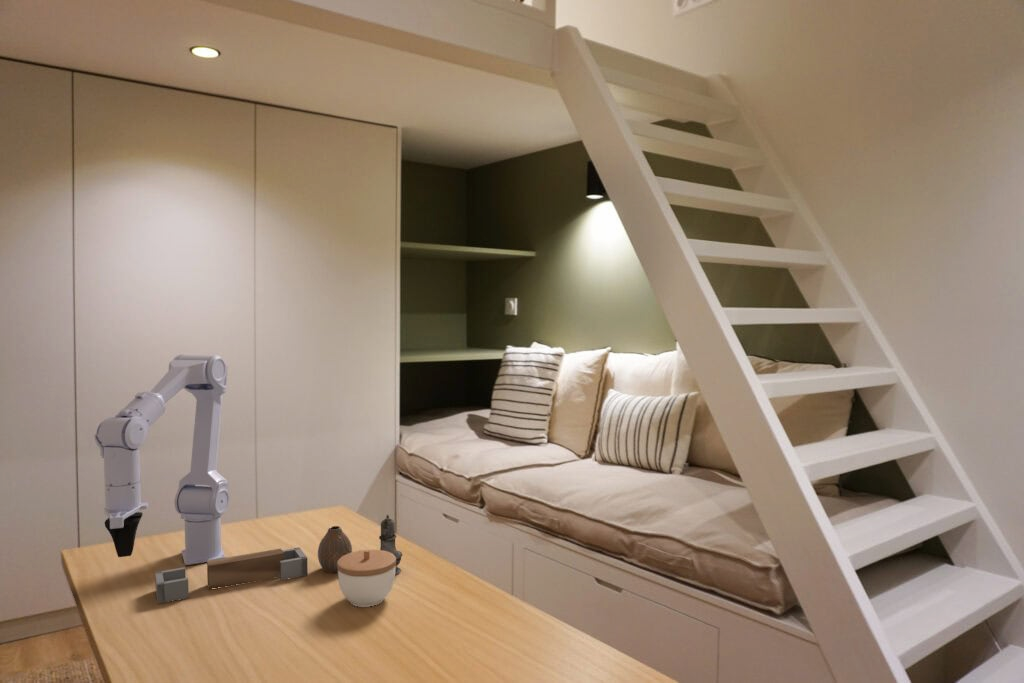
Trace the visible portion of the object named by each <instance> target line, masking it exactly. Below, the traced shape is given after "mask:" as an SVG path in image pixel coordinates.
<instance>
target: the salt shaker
mask: <svg viewBox="0 0 1024 683" xmlns="http://www.w3.org/2000/svg"><path fill="white" fill-rule="evenodd" d="M385 517H386V518H384V519H383V520H381V522H380V535H379V536H378V539H379V540H380V549H379V550H383V551H387V552H390V553H392V554H394V555H395V557H396V565H395V566H396V569H395V575H396V576H399V575H400V574H401V573H402V569H401V568H400V567H398V566H399V564H400V563H401V561H402V557H403V552H402V551H399V550H397V548H396V538H397V537H398V536H397V534H396V532H395V531H396V530H395V529H396V528H395V527H396V526H395V524H396V523H395V521H394V519H392V518H389V517H390V515H389V514H386V516H385ZM400 572H401V573H400ZM399 573H400V574H399Z"/></svg>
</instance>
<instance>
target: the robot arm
mask: <svg viewBox="0 0 1024 683" xmlns="http://www.w3.org/2000/svg"><path fill="white" fill-rule="evenodd" d="M168 363H169V364H168V371H167V372H166V373H165V374H164V376H163V377H162V378H161V379H160V380H159V381H158V383H157V384H156V385H155V386H154V387H153V388H152V389H151V390H150V391H142V392H137V393H136V394H135V395H134V398H133V399H132V400H131V401H130V402H129V403H128V404H127V405H126V406H125V407H123V408H122V409H120V410H119V412H118V413H117V414H116V415H115V416H108V417H107V418H105V419H104V420H102V421H101V422H99V424H98V426H97V428H96V432H95V433H96V434H94V440H95V443H96V445H97V447H99V452H100V453H99V454H100V456H101V458H102V459H103V469H104V471H103V472H104V496H105V497H104V498H105V499H104V500H105V507H104V510H103V512H104V514H105V516H107V519H105V521H104V526H105V529H107V531H108V533H109V535H110V536H111V537H112V538H111V539H112V541H113V543H114V544H113V545H114V548H115V552H116V554H117V557H118V558H124V557H131V556H132V554H133V552H134V546H135V543H136V542H135V540H136V535H137V530H138V527H139V524H140V522H141V519H142V517H143V515H144V514H143V512H140V511H141V510H147V509H148V508H149V502H142V488H141V486H142V485H141V483H142V482H141V462H140V461H141V460H140V459H141V458H140V456H141V455H140V452H141V451H140V447H141V446H143V445H144V444H145V442H146V441H147V437H148V436H147V435H148V433H149V432H150V429H151V426H153V425H154V423H155V422H156V421H157V420H158V419H159V418H160V417H161V416H162V415H163V414H164V413H165V411H166V404H167V403H168V402H169V400H171V399H172V398H174V396H176V395H177V394H178V393H179V392H180V391H182V390H183V389H184V390H185V391H187V392H188V393H190V394H192V396H194V398H195V399H196V402H195V403H196V404H195V414H194V416H195V417H194V428H193V437H192V438H193V439H192V447H191V448H192V449H191V461H190V471H189V472H188V473H187V474H186V475H184V476H183V477H182V478H180V479H179V481H178V489H177V491H176V494H175V497H174V501H173V502H174V503H173V504H174V507H175V510H176V513H177V514H179V515H180V519H182V520H184V544H185V545H184V549H181V555H182V558H183V563H184V566H191V565H192V566H193V565H195V564H196V565H197V564H203V563H207V561H209V560H215V559H221V558H227V557H226V553H225V552H224V549H223V548H222V523H221V522H222V519H221V516H224V514H225V512H226V511H227V510H228V508H229V504H230V495H229V489H228V486H229V485H228V484H229V482H228V480H227V478H225V477H224V476H223V475H221V474H220V473H219V472H218V460H219V458H218V457H219V445H220V436H221V435H220V434H221V425H222V424H221V422H222V410H223V409H222V408H223V399H224V398H223V397H224V394H226V392H227V385H228V384H227V382H228V370H229V369H228V368H229V366H228V365H227V363H226V361H225V360H224V358H223V357H222V356H221V355H218V354H214V355H213V354H212V355H194V354H193V355H192V354H191V355H188V354H187V355H185V354H178V355H176V356H175V357H174V358H173V359H172V360H171V361H169V362H168Z"/></svg>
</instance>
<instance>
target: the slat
mask: <svg viewBox="0 0 1024 683" xmlns="http://www.w3.org/2000/svg"><path fill="white" fill-rule="evenodd" d="M282 550H283V549H282V548H276V549H269V550H263V551H258V552H252V553H246V554H240V555H239V554H238V555H235V556H228V557H226V558H221V559H215V560H209V561H207V562H206V571H207V572H206V575H207V576H206V577H207V587H208V586H209V588H208V590H209V589H212V588H218V587H225V586H230V587H232V586H231V585H235V586H237V585H236V584H241V585H243V584H242V583H246V584H249V583H248V582H251V583H255V582H254V581H256V582H260V581H259V580H262V581H265V580H264V579H267V580H272V579H276V578H275V577H278V578H280V561H283V560H284V552H283V551H282ZM271 578H272V579H271ZM225 588H226V587H225Z"/></svg>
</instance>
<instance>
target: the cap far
mask: <svg viewBox="0 0 1024 683" xmlns="http://www.w3.org/2000/svg"><path fill="white" fill-rule="evenodd" d="M282 551H283V552H284V560H283V561H280V577H279V579H280V581H284V579H286V580H289V579H288V578H291V579H294V578H293V577H296V578H301V577H306V576H308V574H309V573H308V570H309V569H308V556H307V555H306V554H305V553H304V551H303V550H302V549H301V548H300V546H299V547H294V548H288V549H282ZM300 576H301V577H300Z"/></svg>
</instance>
